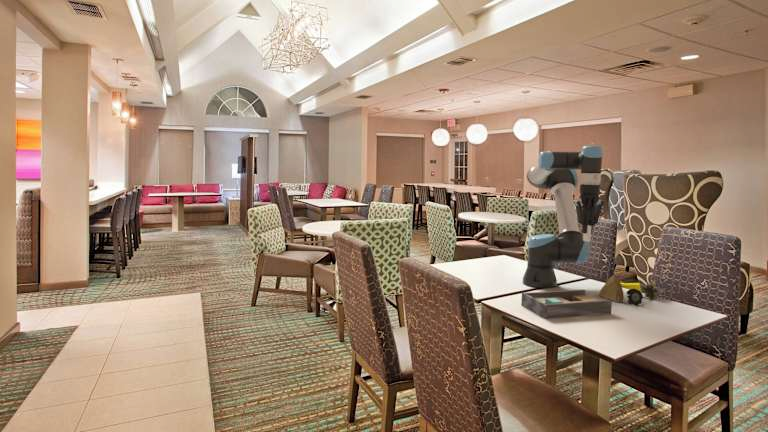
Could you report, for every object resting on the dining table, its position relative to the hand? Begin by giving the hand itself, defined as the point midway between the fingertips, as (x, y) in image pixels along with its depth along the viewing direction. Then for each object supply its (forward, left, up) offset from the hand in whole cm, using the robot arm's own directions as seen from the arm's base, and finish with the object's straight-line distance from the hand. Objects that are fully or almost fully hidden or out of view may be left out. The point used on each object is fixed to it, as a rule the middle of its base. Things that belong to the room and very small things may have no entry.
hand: (586, 241), depth 186 cm
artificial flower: (+6, +24, -25) cm, 35 cm away
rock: (+3, +11, -25) cm, 27 cm away
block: (+16, -23, -22) cm, 35 cm away
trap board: (+12, -17, -24) cm, 32 cm away
